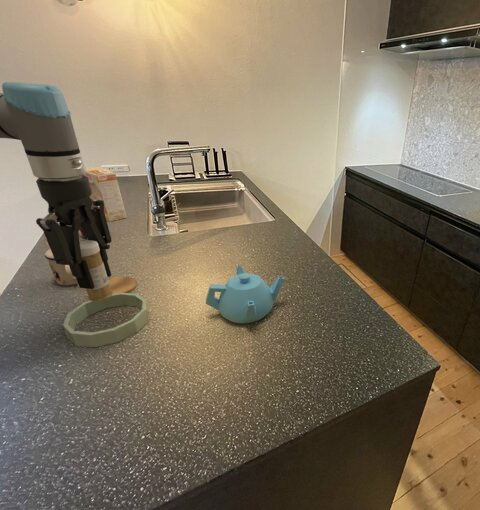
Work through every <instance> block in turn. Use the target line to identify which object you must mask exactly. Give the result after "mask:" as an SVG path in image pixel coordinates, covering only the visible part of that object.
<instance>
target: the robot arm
mask: <svg viewBox="0 0 480 510" xmlns="http://www.w3.org/2000/svg"><path fill="white" fill-rule="evenodd" d="M1 88H2V93H1V92H0V139H10V140H18V141H21V144H22V147H23V149H24V153H25V155H26V158H27V161H28V163H29V166H30V168H31V169H30V170H31V172H32V174H33V177H35V178H37V179H36V181H35V182H36V186H37V188H38V191H39V194H40V196H41V198H42V199H43V200H44V201H45V202H46V203H47V204H48V205H47V206H48V207H47V213H48V214H47V215H46V216H44V217H43V218H41V217H38V218H36V221H35V223H36V225H37V226H38V227H39V228H40V229H41V230H42V231H43V234H44V236H45V239H46V242H47V244H48V246H49V249H51V251H52V254H53V256H54V259H55V261H56V263H57V264H61V265H69V267H70V270H71V273H72V275H73V276H74V277H76V279H77V282H78V284H77V285H78V287H79V289H85V290H86V289H93V288H94V284H93V281H92V278H91V275H90V272H89V269H88V266H87V263H86V261H82V258H81V250H80V241H81V240H80V233H79V232H80V227H81V229H82V230H83V232H84V234H85V236H86V240H93V241H96V242H97V243H98V245H99V248H100V255H101V258H102V261H103V263H104V267H105V270H106V273H107V277H108V278H110V277H111V276H112V273H111V269H110V266H109V262H108V261H109V256H108V254H107V250H110V248H111V245H110V244H111V243H112V237H111V232H110V228H109V225H108V221H107V220H106V217H105V213H104V201H103V200H95V199H91V198H90V197H89V196H91V194H92V190H91V187H90V183H89V180H88V178H87V177H86V176H84V174H85V173H86V171H85V164H84V161H83V158H82V154H81V149H80V146H79V142H78V137H77V135H76V132H75V127H74V125H73V121H72V117H71V111H70V110H69V107H68V105H67V102H66V99H65V96H64V93H63V91H62V90H61V89H60V88H59V87H57V86H56V85H51V84H42V83H41V84H40V83H32V82H16V81H4V82H3V83H2V84H1Z"/></svg>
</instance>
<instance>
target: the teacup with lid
mask: <svg viewBox="0 0 480 510" xmlns="http://www.w3.org/2000/svg"><path fill="white" fill-rule="evenodd" d="M44 258H45V259H46V260H47V262H48V264H49V267H50V270H51V272H52V274H53V277H54V280H55V282H56V283H57V284H58V285H61V286H76V285H78V282H77V279H76V277H74V276H73V275H72V273H71V270H70V267H69V265H61V264H57V263H56V261H55V259H54V256H53V254H52V251H51V249H50V248H49V249H48V250H46V251H45V254H44Z"/></svg>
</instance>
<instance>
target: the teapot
mask: <svg viewBox="0 0 480 510" xmlns="http://www.w3.org/2000/svg"><path fill="white" fill-rule="evenodd" d="M284 281H285V277H284V276H277V278H276V279H275V280H274V282H273V283H271V285H270V286H268V284H267V283H266V282H265V281H264V280H263V279H262V277H260V276H259V275H257V274H255V273H249V272H248V273H247V272H246V273H245V272H244V269H243V267H242V265H241V264H237V265H236V275H233V276H232V277H230V278H229V279H228V280H227V282H226V283H225V284H218V283H217V284H214V283H210V284H209V287H208V291H207V294H206V296H205V297H206V298H205V304H206V305H207V306H209V307H211V308H213V309H215V310H217V311H219V314H220V315H221V316H222V317H223V318H224V319H226V320H228V321H230V322H232V323H235V324H243V325H244V324H252V323H256V322H258V321H260V320H261V319H263V318H265V317H266V316H267V315H268V314H269V313H270V312H271V311H272V309H273V307H274V302H276V301H277V298H278V296H279V293H280V291H281V288H282V286H283V284H284ZM216 293H220V294H219V297H215V295H216Z"/></svg>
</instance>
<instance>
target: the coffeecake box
mask: <svg viewBox="0 0 480 510" xmlns="http://www.w3.org/2000/svg"><path fill="white" fill-rule="evenodd" d="M84 167H85V166H84ZM85 171H86V173H85V174H84V176H86V177H87V178H88V180H89V183H90V187H91V190H92V194H91V196H89V197H90V198H91V199H95V200H103V201H104V213H105V217H106V221H107V222H109V223H112V222H115V221H114V220H116V221H120V220H124V219H123V218H125V219H127V218H128V215H127V213H126V208H125V206H124V201H123V196H122V194H121V190H120V186H119V182H118V179H117V174H116V172H114V171H111V170H109V169H106V168H104V167H101V166H88V167H87V166H86V167H85ZM119 219H120V220H119ZM111 221H112V222H111Z"/></svg>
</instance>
